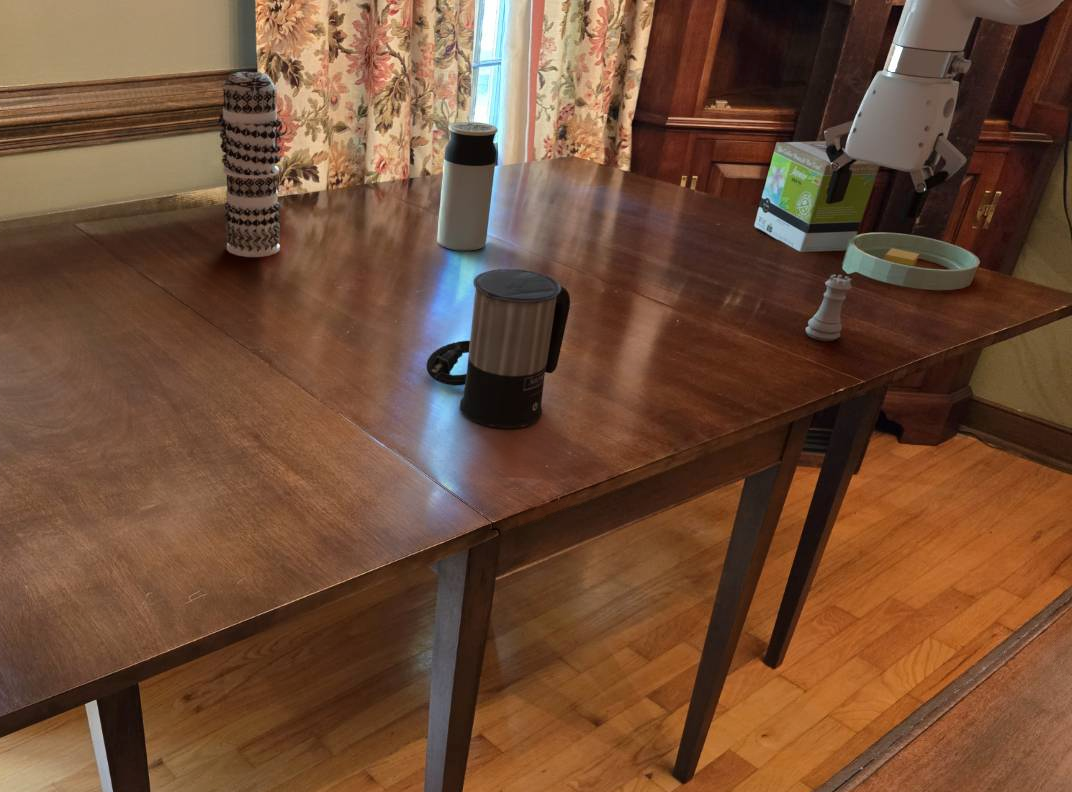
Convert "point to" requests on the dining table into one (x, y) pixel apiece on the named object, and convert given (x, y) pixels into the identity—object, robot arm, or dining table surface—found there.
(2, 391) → the dining table surface
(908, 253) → the decorative block
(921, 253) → the pale green round tray
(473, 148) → the travel mug
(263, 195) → the decorative candle
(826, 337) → the rook chess piece
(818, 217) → the tea box
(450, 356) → the milk frother
